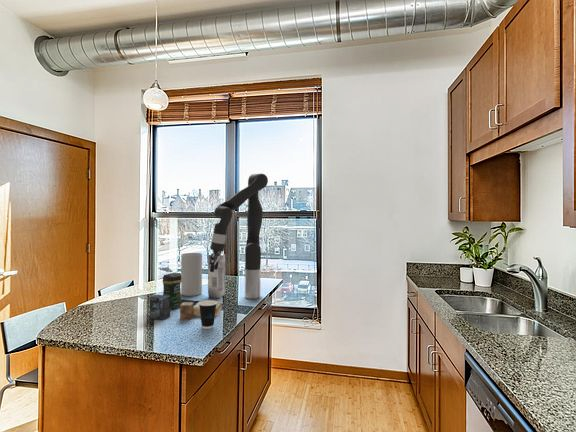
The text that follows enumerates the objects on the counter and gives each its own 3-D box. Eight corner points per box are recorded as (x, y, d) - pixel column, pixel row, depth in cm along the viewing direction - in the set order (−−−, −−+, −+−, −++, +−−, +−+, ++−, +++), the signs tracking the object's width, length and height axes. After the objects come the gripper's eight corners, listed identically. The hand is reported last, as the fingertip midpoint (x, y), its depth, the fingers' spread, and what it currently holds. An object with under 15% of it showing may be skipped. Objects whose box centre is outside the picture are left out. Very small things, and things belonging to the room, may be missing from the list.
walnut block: (193, 316, 162) (193, 302, 162) (190, 319, 157) (190, 305, 157) (183, 316, 162) (183, 302, 162) (179, 319, 157) (180, 305, 157)
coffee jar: (170, 311, 170) (170, 275, 170) (159, 308, 174) (159, 274, 173) (184, 306, 179) (184, 272, 179) (173, 304, 182) (173, 271, 182)
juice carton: (226, 294, 205) (226, 251, 205) (221, 298, 195) (221, 253, 194) (212, 294, 206) (212, 251, 206) (206, 298, 196) (206, 253, 195)
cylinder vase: (198, 296, 200) (198, 255, 200) (178, 296, 200) (178, 255, 200) (204, 291, 212) (204, 252, 212) (185, 291, 213) (185, 252, 212)
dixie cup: (208, 331, 142) (208, 306, 142) (194, 327, 146) (194, 303, 146) (220, 325, 149) (220, 301, 149) (207, 322, 153) (207, 299, 153)
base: (221, 309, 174) (221, 301, 174) (216, 316, 162) (216, 307, 162) (198, 308, 174) (199, 300, 174) (192, 316, 162) (192, 307, 162)
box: (149, 318, 158) (149, 296, 158) (157, 315, 163) (157, 294, 163) (162, 320, 155) (163, 298, 155) (170, 317, 161) (170, 295, 161)
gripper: (222, 244, 175) (217, 274, 176) (227, 241, 190) (223, 269, 190) (208, 241, 176) (203, 271, 176) (214, 239, 190) (210, 267, 190)
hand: (213, 270), depth 183 cm, fingers open, 8 cm apart
